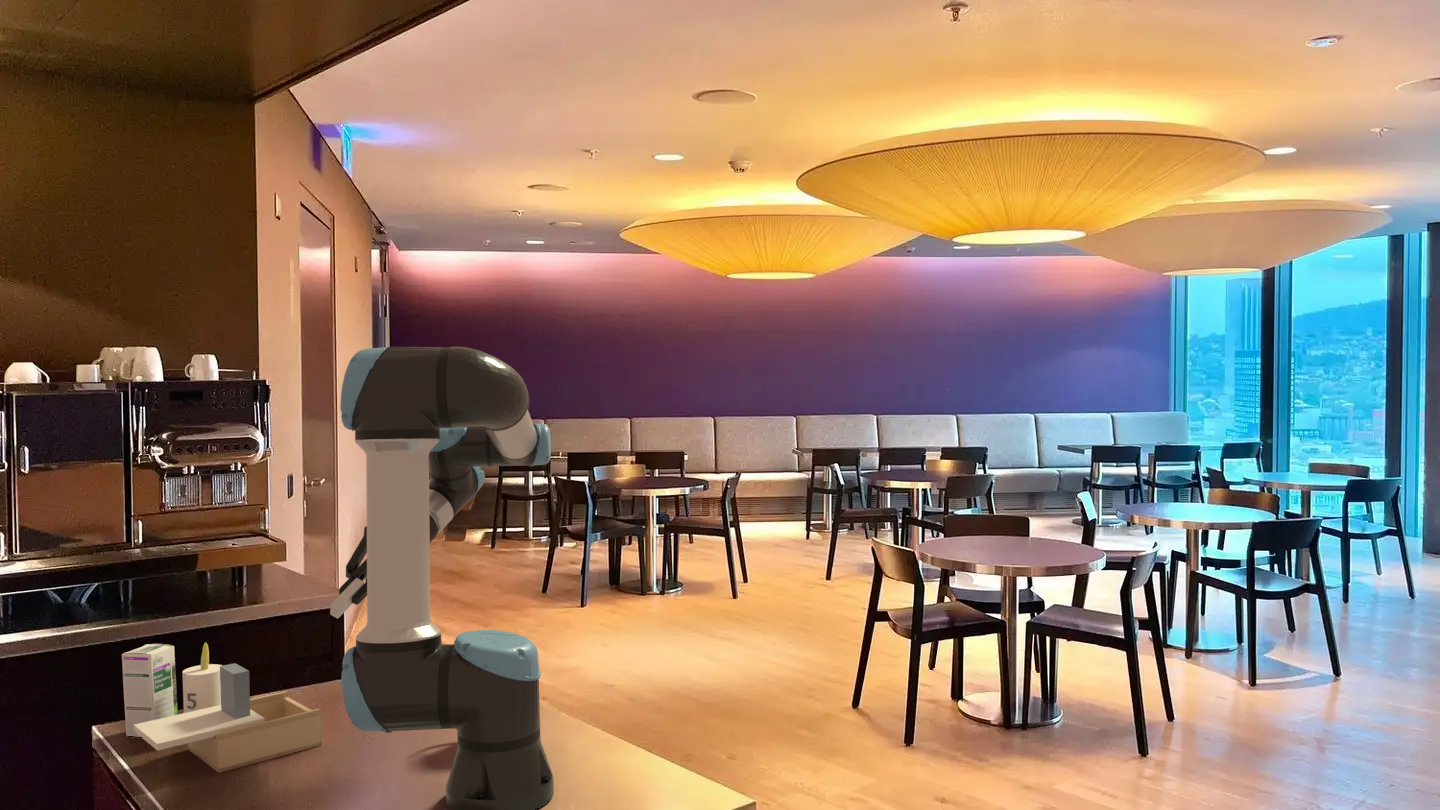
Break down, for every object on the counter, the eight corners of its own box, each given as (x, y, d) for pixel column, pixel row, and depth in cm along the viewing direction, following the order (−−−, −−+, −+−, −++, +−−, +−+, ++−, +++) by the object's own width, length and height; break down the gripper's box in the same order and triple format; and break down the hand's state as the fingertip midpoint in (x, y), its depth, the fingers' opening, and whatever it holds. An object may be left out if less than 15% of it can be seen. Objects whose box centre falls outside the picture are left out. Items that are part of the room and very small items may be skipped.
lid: (237, 707, 175) (235, 658, 175) (264, 724, 167) (263, 673, 167) (133, 731, 165) (131, 679, 164) (157, 750, 156) (155, 696, 156)
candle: (175, 736, 177) (172, 648, 177) (200, 723, 184) (197, 637, 183) (209, 738, 176) (206, 649, 176) (233, 724, 183) (230, 639, 182)
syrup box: (154, 739, 176) (151, 653, 175) (124, 737, 177) (121, 651, 177) (179, 727, 182) (176, 644, 181) (149, 725, 183) (146, 642, 182)
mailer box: (286, 724, 182) (285, 690, 182) (321, 745, 172) (320, 709, 172) (188, 749, 171) (186, 713, 171) (219, 773, 161) (217, 734, 161)
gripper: (451, 550, 189) (367, 644, 171) (389, 518, 191) (300, 607, 173) (454, 523, 184) (368, 616, 167) (391, 490, 186) (300, 578, 168)
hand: (334, 611), depth 170 cm, fingers closed
